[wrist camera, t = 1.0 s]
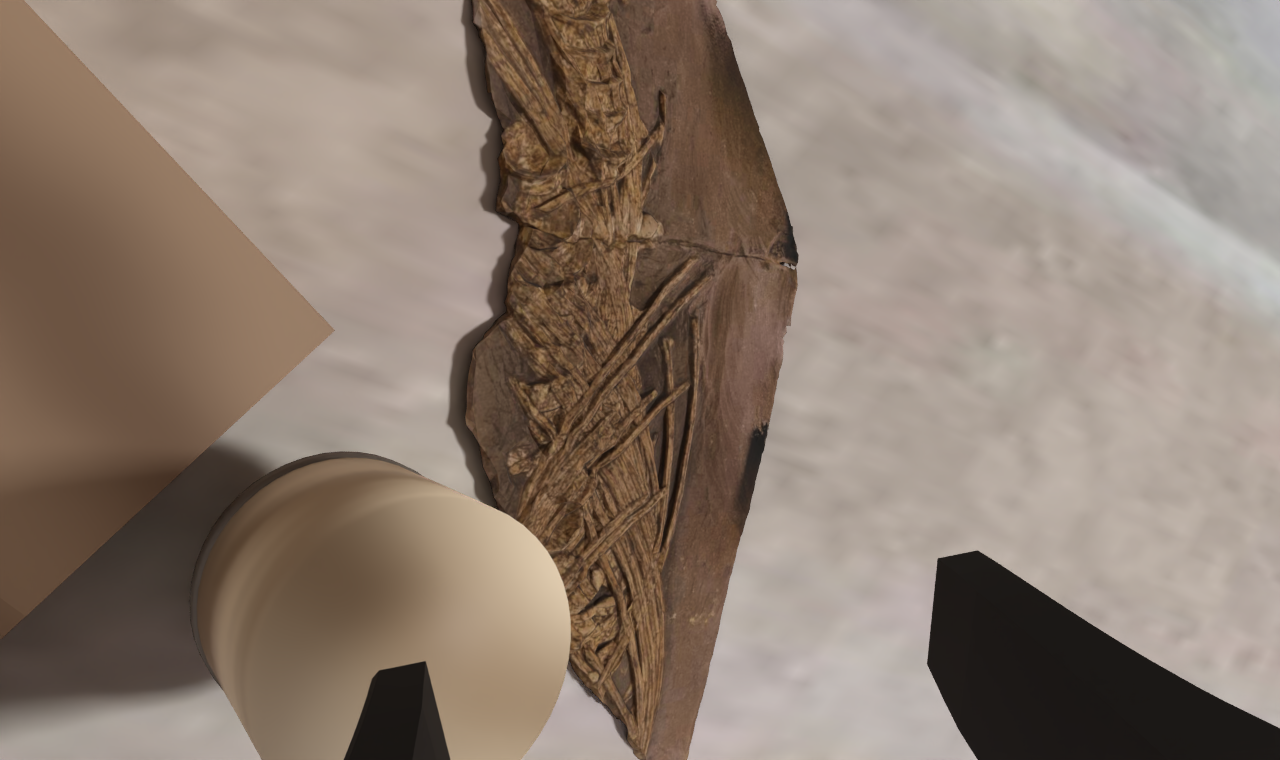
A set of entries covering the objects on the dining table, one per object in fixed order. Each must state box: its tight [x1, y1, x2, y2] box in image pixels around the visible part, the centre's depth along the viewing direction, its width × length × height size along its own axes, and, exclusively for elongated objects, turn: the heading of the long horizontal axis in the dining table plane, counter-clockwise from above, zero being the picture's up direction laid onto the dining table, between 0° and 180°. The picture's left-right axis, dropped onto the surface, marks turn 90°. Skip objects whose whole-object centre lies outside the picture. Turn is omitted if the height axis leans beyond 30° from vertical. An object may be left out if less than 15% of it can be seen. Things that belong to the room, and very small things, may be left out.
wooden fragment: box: [465, 0, 798, 760], centre depth 26 cm, size 26×11×1 cm, turn 179°
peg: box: [189, 452, 571, 760], centre depth 19 cm, size 6×6×8 cm
